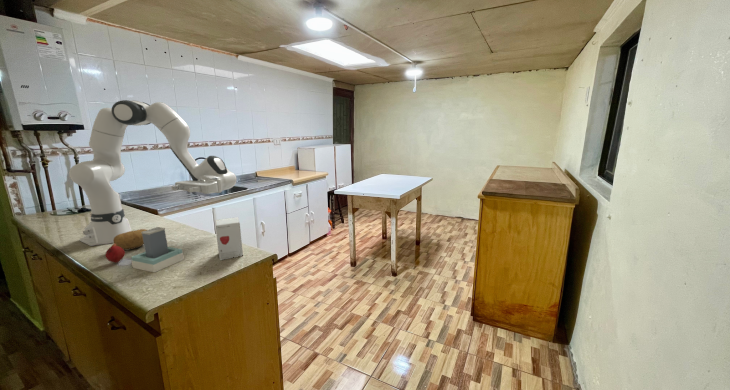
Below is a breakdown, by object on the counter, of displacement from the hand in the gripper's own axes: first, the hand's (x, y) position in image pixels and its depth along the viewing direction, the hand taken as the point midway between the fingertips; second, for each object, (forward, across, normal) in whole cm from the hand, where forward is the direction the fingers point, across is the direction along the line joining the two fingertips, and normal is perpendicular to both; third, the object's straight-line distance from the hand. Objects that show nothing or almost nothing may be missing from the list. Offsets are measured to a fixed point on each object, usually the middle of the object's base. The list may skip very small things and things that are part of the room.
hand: (180, 189), depth 126 cm
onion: (+21, -13, +28) cm, 37 cm away
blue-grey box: (+16, +4, +24) cm, 29 cm away
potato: (+8, -23, +28) cm, 37 cm away
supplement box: (0, +25, +26) cm, 36 cm away
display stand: (+16, +4, +27) cm, 32 cm away
